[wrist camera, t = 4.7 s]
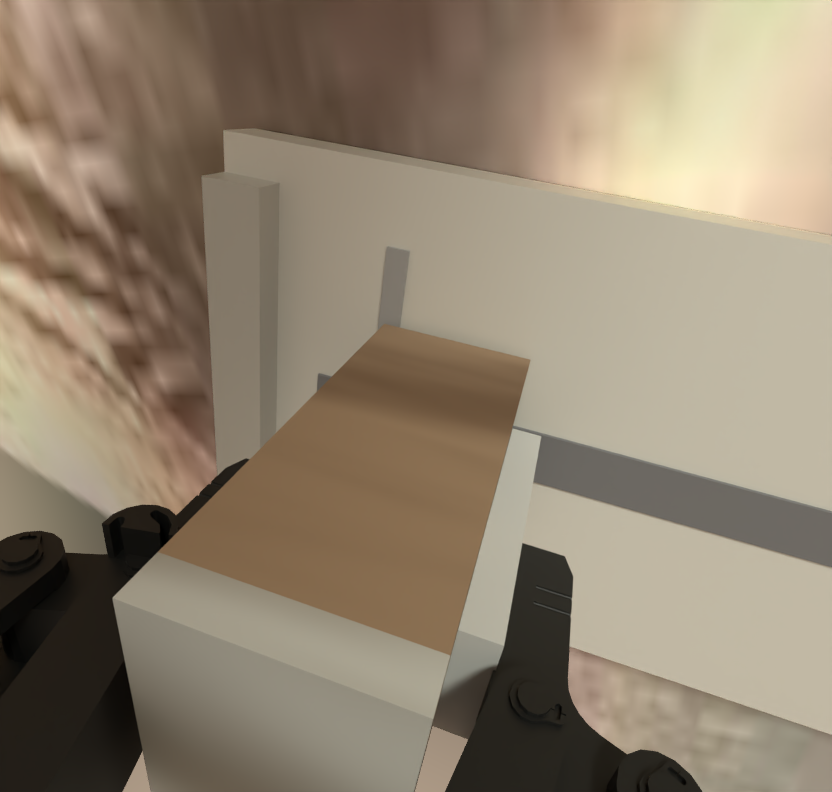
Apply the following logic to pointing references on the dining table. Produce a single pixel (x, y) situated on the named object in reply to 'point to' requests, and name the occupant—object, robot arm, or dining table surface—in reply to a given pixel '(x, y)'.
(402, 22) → the dining table surface
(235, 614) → the fader knob
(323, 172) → the slider console
